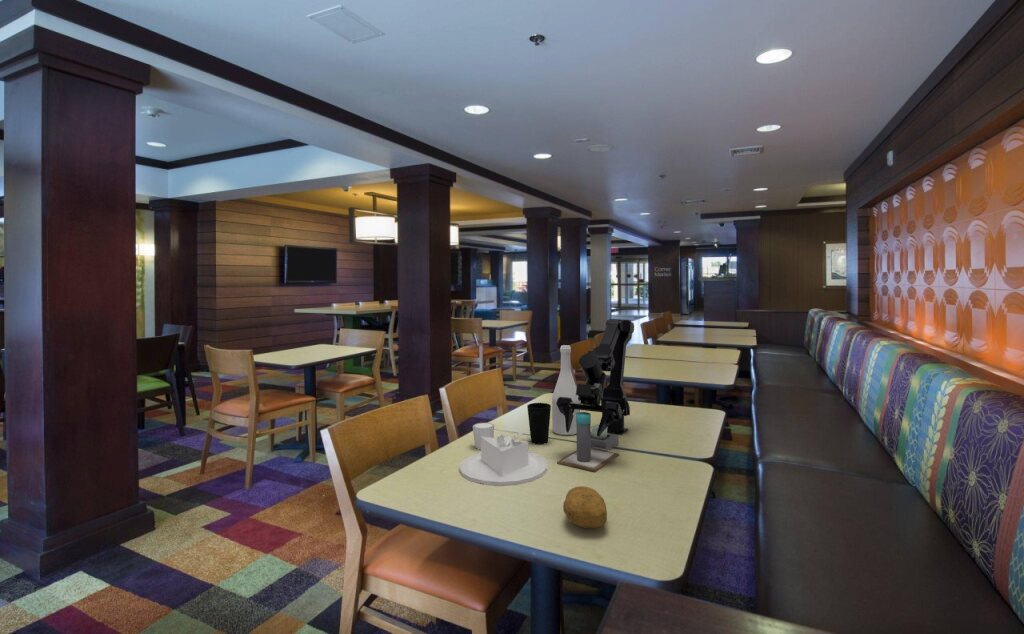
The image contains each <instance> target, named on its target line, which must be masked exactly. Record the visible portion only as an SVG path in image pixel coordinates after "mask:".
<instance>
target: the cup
mask: <svg viewBox="0 0 1024 634" xmlns="http://www.w3.org/2000/svg"><path fill="white" fill-rule="evenodd" d="M526 407H527V414H528V415H527V417H528V427H529V435H530V443H531V442H532V444H533V443H535V444H534V445H544V443H546V444H547V442H549V434H550V423H551V422H550V420H551V412H552V404H550V403H545V402H532V403H529V404H527V406H526Z"/></svg>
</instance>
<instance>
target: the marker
mask: <svg viewBox="0 0 1024 634" xmlns="http://www.w3.org/2000/svg"><path fill="white" fill-rule="evenodd" d="M591 416H592V415H591V413H590V412H588V411H587V412H586V411H580V412H579V413H576V427H577V434H576V450H577V461H579V462H590V461H591V426H592V424H591V420H592V419H591V418H592V417H591Z"/></svg>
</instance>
